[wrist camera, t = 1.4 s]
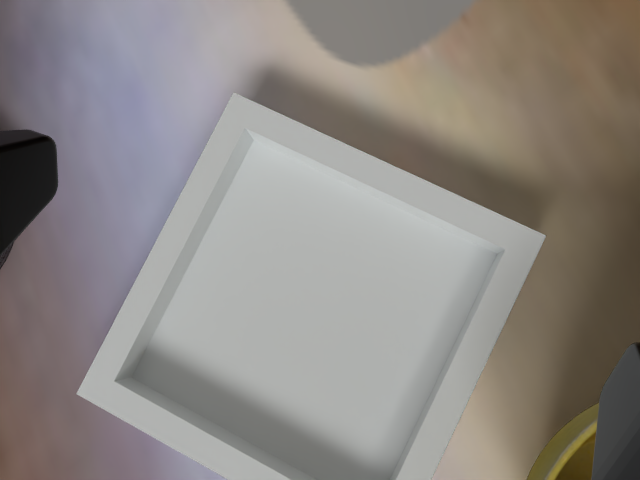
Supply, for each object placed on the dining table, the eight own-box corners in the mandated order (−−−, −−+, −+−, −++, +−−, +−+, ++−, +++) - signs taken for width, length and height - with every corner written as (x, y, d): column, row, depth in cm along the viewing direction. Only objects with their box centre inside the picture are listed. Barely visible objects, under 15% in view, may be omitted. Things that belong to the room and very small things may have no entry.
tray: (387, 547, 22) (388, 570, 20) (102, 387, 23) (76, 393, 21) (531, 243, 22) (546, 235, 20) (245, 110, 24) (233, 92, 22)
